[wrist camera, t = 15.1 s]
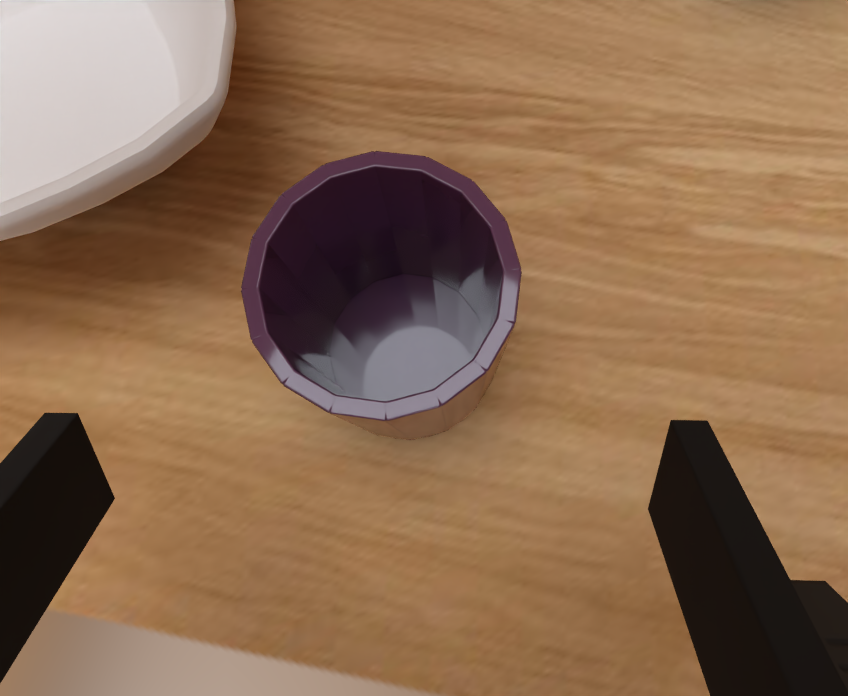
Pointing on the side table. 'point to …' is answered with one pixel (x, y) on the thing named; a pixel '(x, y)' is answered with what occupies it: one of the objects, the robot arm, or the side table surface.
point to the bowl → (102, 98)
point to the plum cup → (384, 292)
